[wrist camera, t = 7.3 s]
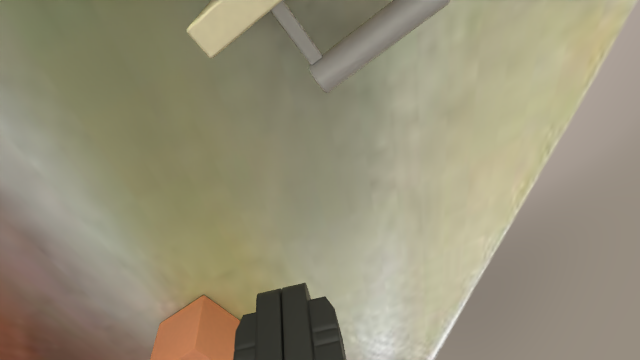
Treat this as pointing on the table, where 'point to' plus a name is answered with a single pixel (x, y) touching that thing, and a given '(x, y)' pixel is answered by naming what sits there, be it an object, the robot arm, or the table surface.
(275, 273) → the table surface
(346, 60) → the drawer
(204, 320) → the block
